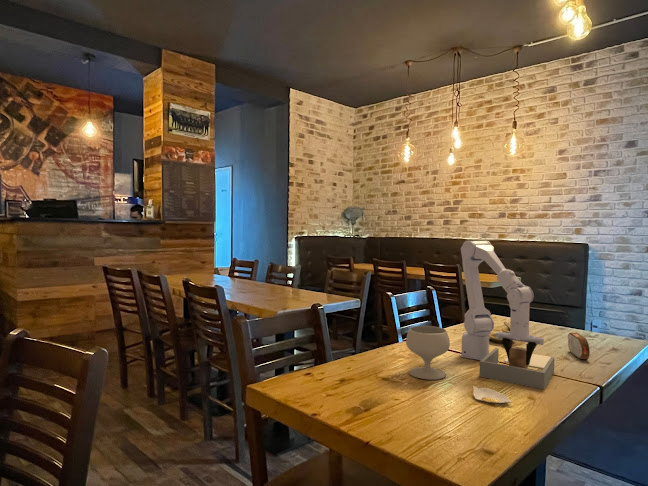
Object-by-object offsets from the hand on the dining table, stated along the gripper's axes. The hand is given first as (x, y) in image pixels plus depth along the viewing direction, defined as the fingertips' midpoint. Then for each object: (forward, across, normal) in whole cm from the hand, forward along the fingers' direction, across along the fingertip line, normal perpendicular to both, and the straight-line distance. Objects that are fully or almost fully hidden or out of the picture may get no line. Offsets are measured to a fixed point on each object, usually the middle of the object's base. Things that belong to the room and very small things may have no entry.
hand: (518, 362), depth 143 cm
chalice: (+4, -24, -21) cm, 32 cm away
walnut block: (+1, 0, 0) cm, 1 cm away
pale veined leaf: (+4, -1, -30) cm, 30 cm away
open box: (+3, 0, -2) cm, 4 cm away
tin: (+4, +14, +34) cm, 37 cm away
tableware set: (+4, -14, +46) cm, 48 cm away
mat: (+3, 0, +18) cm, 18 cm away
